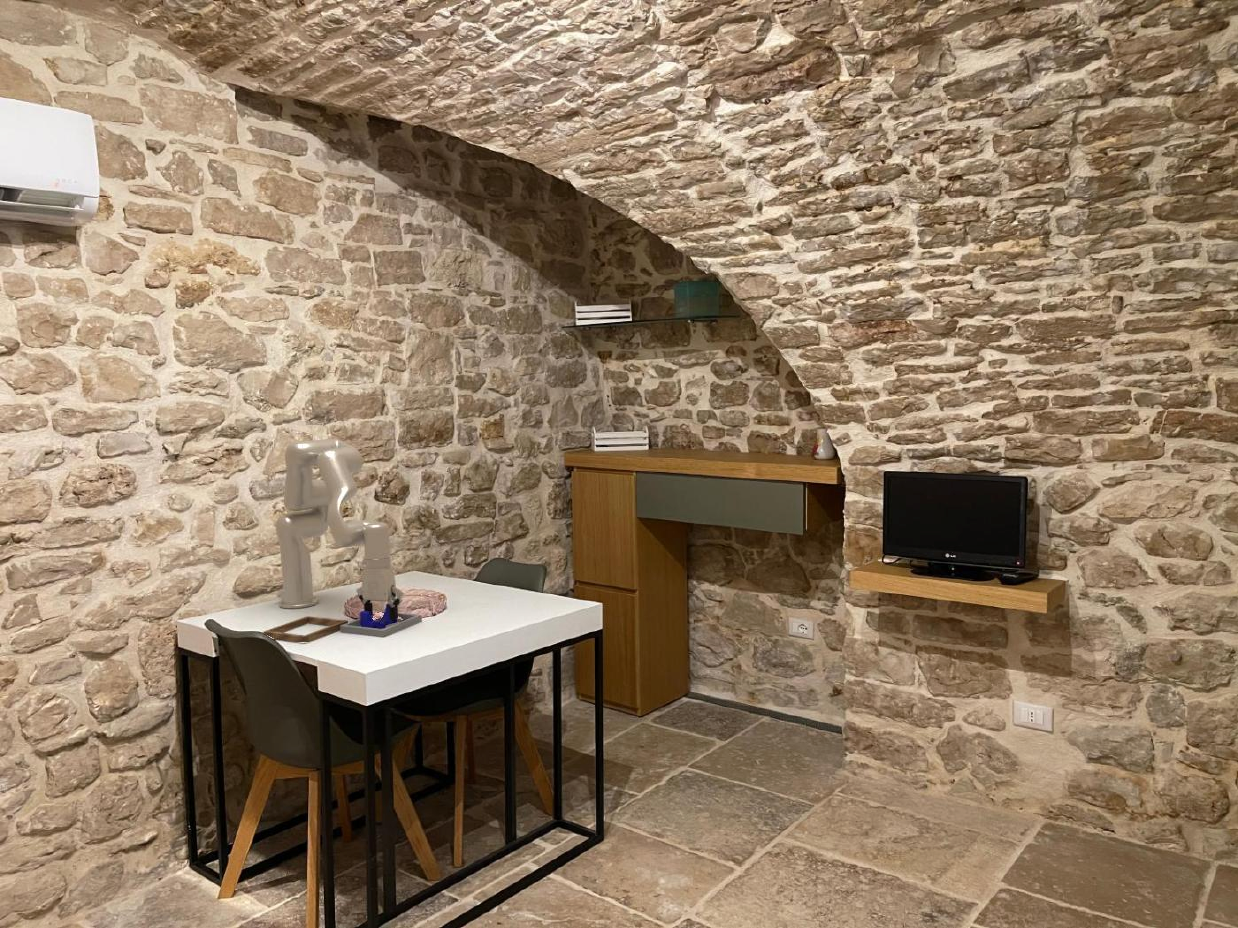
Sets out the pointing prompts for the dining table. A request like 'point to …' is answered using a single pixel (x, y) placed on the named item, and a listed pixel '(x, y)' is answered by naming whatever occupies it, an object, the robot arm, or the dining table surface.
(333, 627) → the walnut holder
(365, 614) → the blue notched cradle block
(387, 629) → the tray
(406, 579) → the dining table surface
